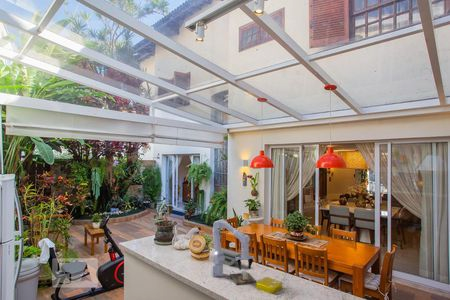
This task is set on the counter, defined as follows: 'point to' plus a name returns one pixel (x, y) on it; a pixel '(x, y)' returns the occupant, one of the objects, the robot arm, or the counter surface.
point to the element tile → (269, 285)
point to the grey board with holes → (239, 281)
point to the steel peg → (244, 276)
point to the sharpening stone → (230, 256)
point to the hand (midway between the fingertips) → (244, 269)
